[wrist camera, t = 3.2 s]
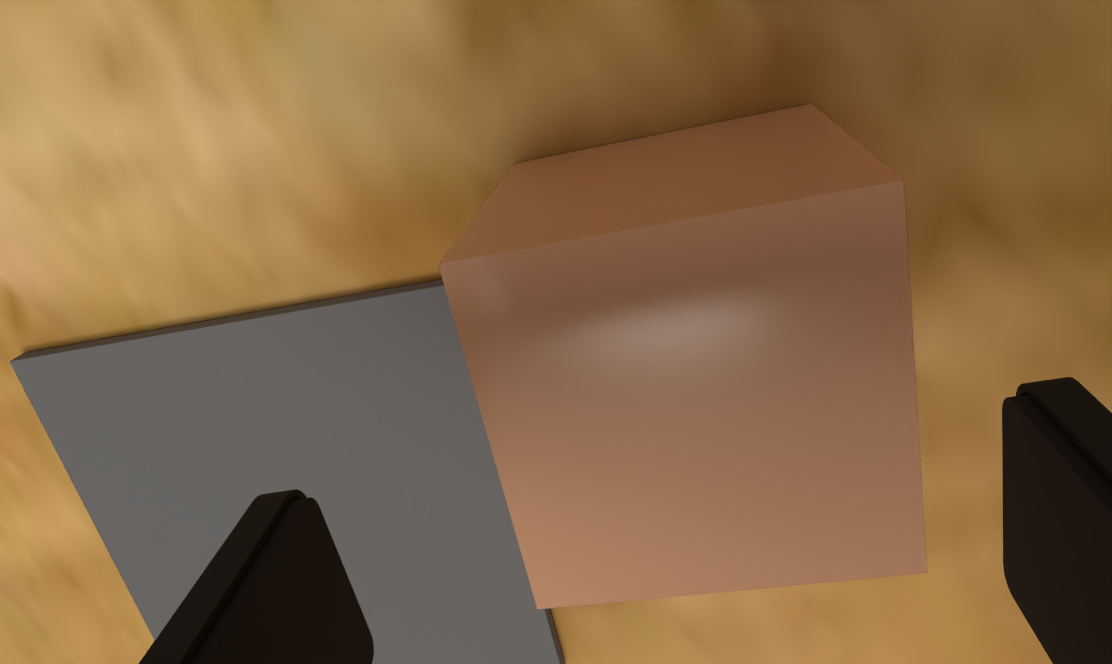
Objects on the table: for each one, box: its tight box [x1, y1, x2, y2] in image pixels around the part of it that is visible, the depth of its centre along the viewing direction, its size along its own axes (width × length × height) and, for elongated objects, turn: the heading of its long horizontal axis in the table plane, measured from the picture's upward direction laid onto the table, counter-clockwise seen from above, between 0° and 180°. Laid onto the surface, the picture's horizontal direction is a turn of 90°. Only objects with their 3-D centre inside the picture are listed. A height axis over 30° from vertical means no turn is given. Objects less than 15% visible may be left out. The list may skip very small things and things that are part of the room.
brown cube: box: [438, 104, 927, 609], centre depth 18 cm, size 7×7×8 cm
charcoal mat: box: [10, 279, 565, 664], centre depth 26 cm, size 14×14×1 cm
